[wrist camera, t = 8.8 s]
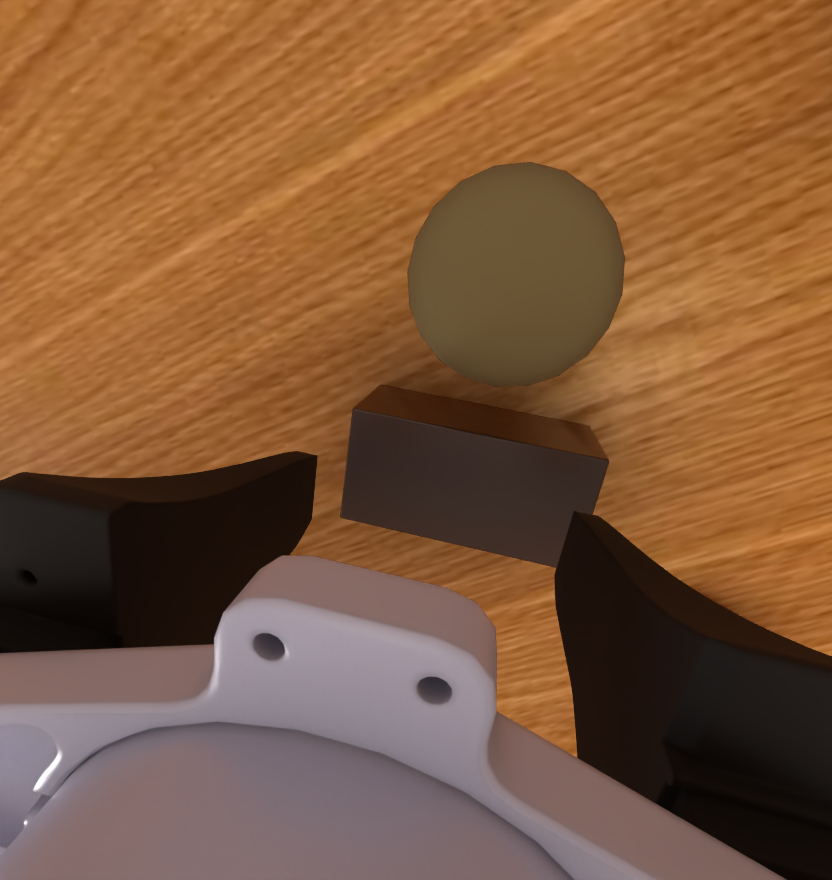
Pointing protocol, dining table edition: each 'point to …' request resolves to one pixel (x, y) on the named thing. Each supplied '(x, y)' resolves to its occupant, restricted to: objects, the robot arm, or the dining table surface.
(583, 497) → the walnut block
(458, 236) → the olive rounded upright piece
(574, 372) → the dining table surface
